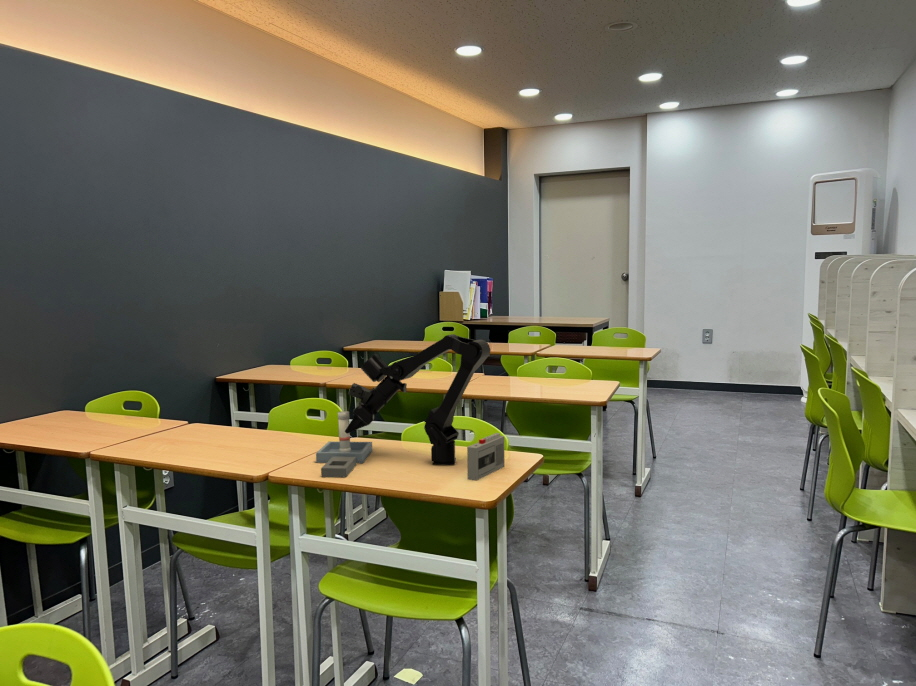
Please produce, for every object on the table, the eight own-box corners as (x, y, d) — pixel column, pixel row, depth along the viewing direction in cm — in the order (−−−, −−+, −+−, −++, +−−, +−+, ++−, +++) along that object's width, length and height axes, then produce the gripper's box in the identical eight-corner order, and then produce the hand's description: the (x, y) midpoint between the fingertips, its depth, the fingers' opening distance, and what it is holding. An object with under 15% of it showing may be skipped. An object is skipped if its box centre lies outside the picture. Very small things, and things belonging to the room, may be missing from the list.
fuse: (351, 452, 203) (350, 411, 202) (349, 455, 199) (347, 413, 198) (341, 452, 203) (339, 411, 202) (338, 455, 199) (336, 413, 198)
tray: (372, 451, 208) (372, 441, 207) (362, 463, 194) (362, 453, 193) (329, 450, 209) (328, 441, 208) (316, 462, 195) (316, 452, 194)
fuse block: (356, 465, 192) (356, 456, 192) (346, 477, 180) (346, 468, 180) (332, 464, 192) (332, 456, 192) (321, 477, 180) (321, 468, 180)
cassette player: (476, 481, 176) (475, 444, 175) (467, 479, 177) (467, 443, 176) (504, 467, 189) (504, 432, 188) (496, 465, 190) (496, 431, 189)
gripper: (367, 370, 208) (333, 405, 209) (360, 378, 189) (323, 417, 190) (393, 394, 209) (359, 429, 210) (387, 405, 190) (351, 443, 191)
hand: (348, 429), depth 200 cm, fingers open, 9 cm apart
